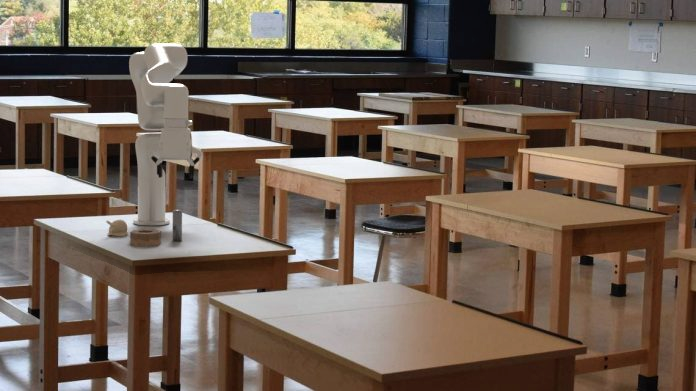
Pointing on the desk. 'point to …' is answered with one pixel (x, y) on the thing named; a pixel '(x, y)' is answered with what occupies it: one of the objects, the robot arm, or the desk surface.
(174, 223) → the grey square post
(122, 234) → the decorative ornament
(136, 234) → the bead
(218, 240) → the desk surface
